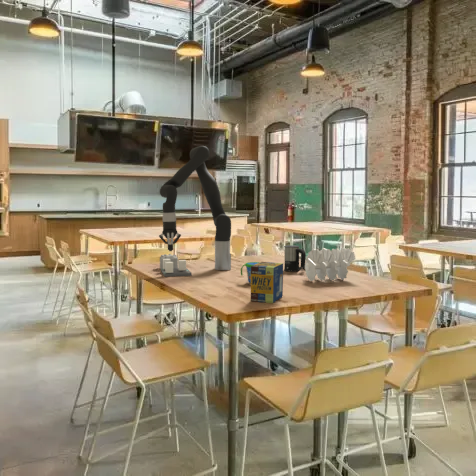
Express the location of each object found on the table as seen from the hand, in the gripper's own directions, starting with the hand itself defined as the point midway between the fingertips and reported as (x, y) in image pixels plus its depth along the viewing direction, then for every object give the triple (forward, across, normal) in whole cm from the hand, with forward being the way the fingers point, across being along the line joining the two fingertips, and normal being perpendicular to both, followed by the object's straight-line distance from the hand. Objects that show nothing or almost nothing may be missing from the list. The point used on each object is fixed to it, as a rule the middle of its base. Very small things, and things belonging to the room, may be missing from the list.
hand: (170, 251), depth 299 cm
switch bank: (+13, -3, 0) cm, 14 cm away
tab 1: (+11, +2, -7) cm, 13 cm away
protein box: (+14, -32, +78) cm, 86 cm away
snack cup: (+14, -39, +39) cm, 56 cm away
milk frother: (+15, -75, +3) cm, 77 cm away
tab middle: (+11, -6, 0) cm, 13 cm away
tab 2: (+11, +2, +6) cm, 13 cm away
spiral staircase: (+16, -78, +41) cm, 89 cm away
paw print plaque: (+14, -1, -21) cm, 25 cm away
